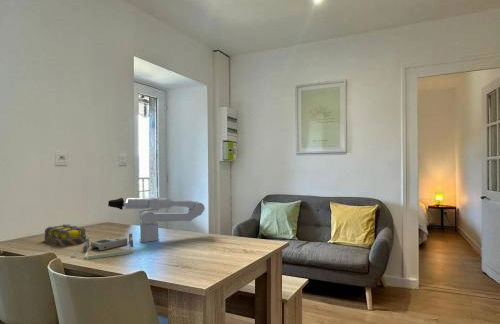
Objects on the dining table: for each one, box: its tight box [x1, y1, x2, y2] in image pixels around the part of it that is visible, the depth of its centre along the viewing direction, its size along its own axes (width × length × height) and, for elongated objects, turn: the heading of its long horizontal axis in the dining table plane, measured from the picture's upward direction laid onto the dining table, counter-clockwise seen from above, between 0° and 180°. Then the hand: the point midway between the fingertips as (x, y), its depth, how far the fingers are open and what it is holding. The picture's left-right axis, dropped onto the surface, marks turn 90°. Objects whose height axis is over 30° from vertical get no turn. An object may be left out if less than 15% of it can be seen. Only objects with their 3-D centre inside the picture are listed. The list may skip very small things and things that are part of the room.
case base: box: [83, 232, 134, 253], centre depth 163 cm, size 23×13×4 cm, turn 114°
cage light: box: [44, 223, 87, 247], centre depth 180 cm, size 15×8×30 cm
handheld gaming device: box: [90, 236, 128, 251], centre depth 163 cm, size 9×15×4 cm, turn 143°
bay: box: [84, 246, 134, 260], centre depth 148 cm, size 20×9×1 cm, turn 114°
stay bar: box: [71, 249, 78, 258], centre depth 150 cm, size 2×12×1 cm, turn 26°
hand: (108, 203), depth 167 cm, fingers open, 7 cm apart
